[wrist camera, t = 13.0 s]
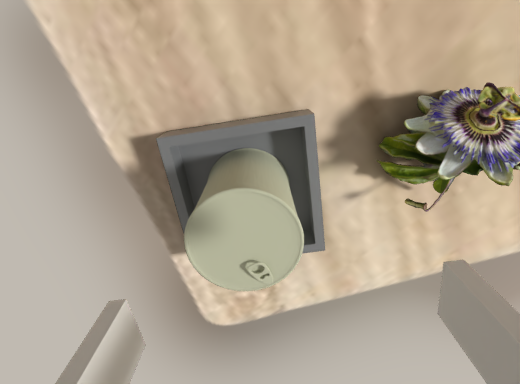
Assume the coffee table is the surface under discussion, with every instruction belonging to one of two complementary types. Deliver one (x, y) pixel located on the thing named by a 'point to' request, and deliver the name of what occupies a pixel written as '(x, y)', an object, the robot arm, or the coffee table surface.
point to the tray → (258, 137)
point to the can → (245, 223)
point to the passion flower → (459, 139)
